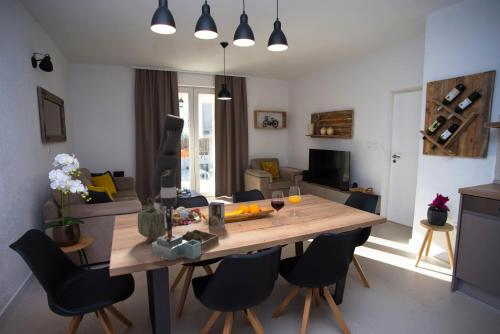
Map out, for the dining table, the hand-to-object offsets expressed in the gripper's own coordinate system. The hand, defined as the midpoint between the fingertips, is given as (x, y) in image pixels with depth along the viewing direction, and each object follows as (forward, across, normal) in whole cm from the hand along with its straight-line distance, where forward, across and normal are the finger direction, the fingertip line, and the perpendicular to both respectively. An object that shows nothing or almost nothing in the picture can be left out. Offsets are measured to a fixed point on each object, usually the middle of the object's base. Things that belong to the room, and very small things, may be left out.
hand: (169, 228), depth 138 cm
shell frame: (+13, +10, -14) cm, 22 cm away
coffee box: (+13, +35, -28) cm, 46 cm away
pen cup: (+13, -6, -11) cm, 18 cm away
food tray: (+13, +55, -5) cm, 57 cm away
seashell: (+13, +9, -13) cm, 21 cm away
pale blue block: (+13, 0, 0) cm, 13 cm away
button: (+10, 0, 0) cm, 10 cm away
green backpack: (+13, +18, +11) cm, 25 cm away
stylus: (+4, 0, 0) cm, 4 cm away
